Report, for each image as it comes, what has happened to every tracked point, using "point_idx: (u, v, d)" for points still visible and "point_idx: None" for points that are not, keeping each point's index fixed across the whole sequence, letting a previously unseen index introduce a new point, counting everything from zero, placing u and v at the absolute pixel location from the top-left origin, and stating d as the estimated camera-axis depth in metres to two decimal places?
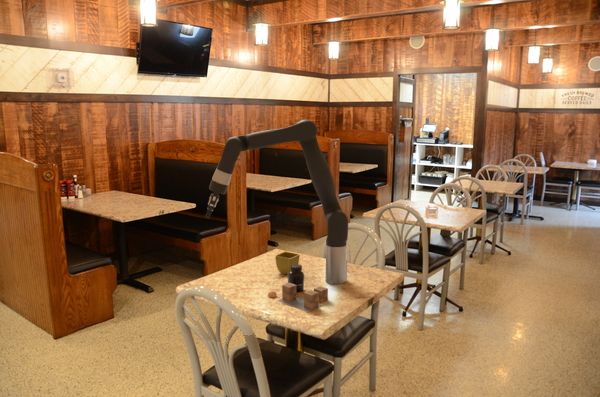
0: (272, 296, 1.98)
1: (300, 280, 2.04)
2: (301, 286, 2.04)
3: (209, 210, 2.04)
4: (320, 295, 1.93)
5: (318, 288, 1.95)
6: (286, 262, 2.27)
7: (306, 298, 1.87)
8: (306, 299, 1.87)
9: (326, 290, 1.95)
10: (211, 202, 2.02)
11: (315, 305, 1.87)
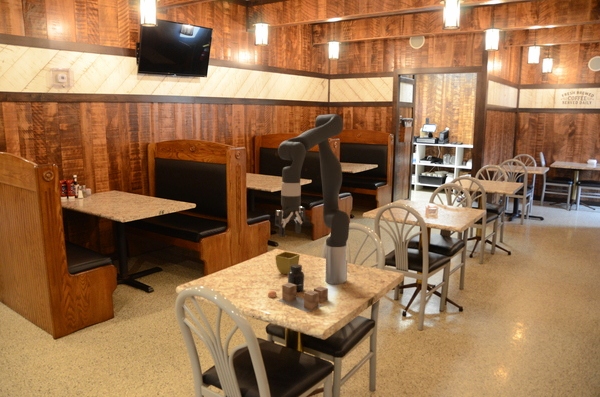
0: (272, 296, 1.98)
1: (300, 280, 2.04)
2: (301, 286, 2.04)
3: (280, 227, 1.85)
4: (320, 295, 1.93)
5: (318, 288, 1.95)
6: (286, 262, 2.27)
7: (306, 298, 1.87)
8: (306, 299, 1.87)
9: (326, 290, 1.95)
10: (276, 218, 1.84)
11: (315, 305, 1.87)
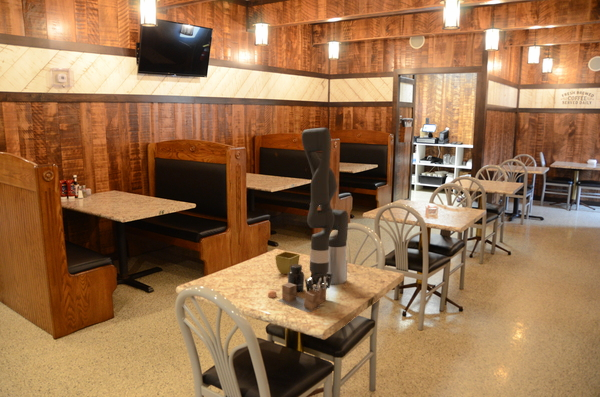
0: (272, 296, 1.98)
1: (300, 280, 2.04)
2: (301, 286, 2.04)
3: None
4: None
5: None
6: (286, 262, 2.27)
7: (307, 297, 1.86)
8: (307, 299, 1.86)
9: (324, 291, 1.94)
10: (307, 286, 1.90)
11: (315, 305, 1.87)
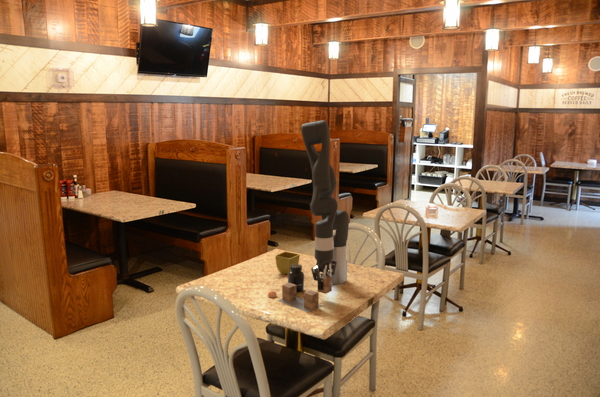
0: (272, 296, 1.98)
1: (300, 280, 2.04)
2: (301, 286, 2.04)
3: (318, 281, 1.92)
4: (324, 283, 1.92)
5: None
6: (286, 262, 2.27)
7: (306, 298, 1.87)
8: (306, 299, 1.87)
9: (330, 278, 1.94)
10: (313, 274, 1.90)
11: (315, 305, 1.87)
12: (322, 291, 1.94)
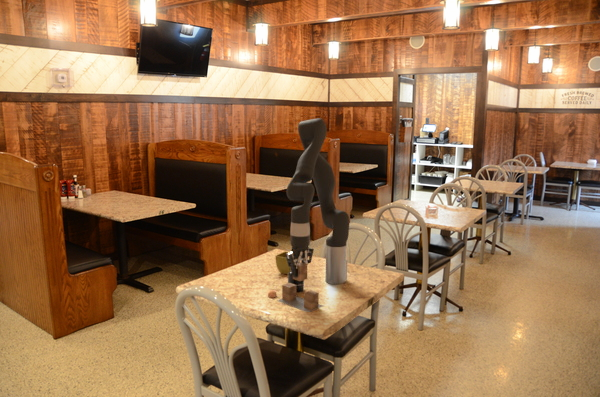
0: (272, 296, 1.98)
1: None
2: (301, 286, 2.04)
3: (293, 268, 1.88)
4: (299, 271, 1.88)
5: None
6: (286, 262, 2.27)
7: (306, 298, 1.87)
8: (306, 299, 1.87)
9: (305, 266, 1.89)
10: (288, 261, 1.86)
11: (315, 305, 1.87)
12: (297, 278, 1.89)
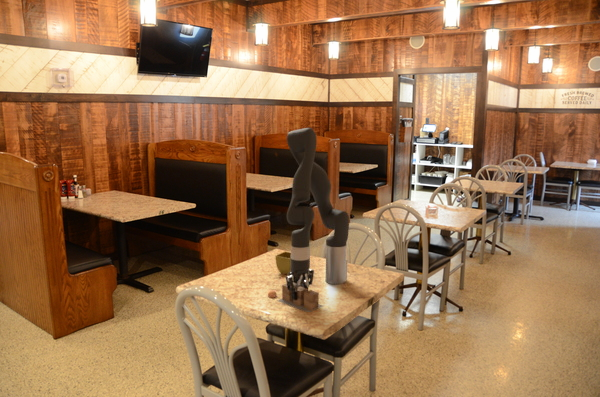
0: (272, 296, 1.98)
1: None
2: (301, 286, 2.04)
3: (292, 291, 1.89)
4: (299, 295, 1.89)
5: None
6: (286, 262, 2.27)
7: (306, 298, 1.87)
8: (306, 299, 1.87)
9: (305, 290, 1.91)
10: (287, 283, 1.87)
11: (315, 305, 1.87)
12: (297, 303, 1.90)
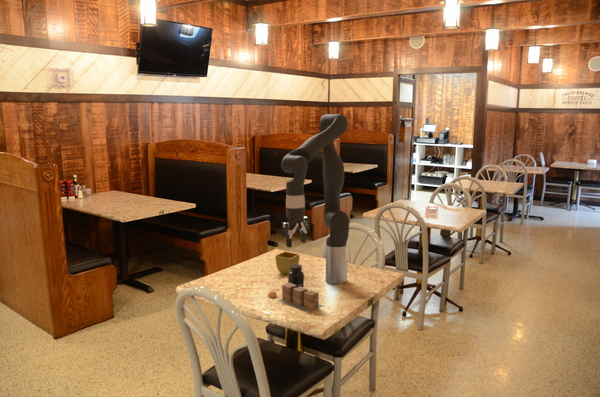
0: (272, 296, 1.98)
1: (300, 280, 2.04)
2: (301, 286, 2.04)
3: (286, 238, 1.91)
4: (299, 295, 1.89)
5: (297, 288, 1.91)
6: (286, 262, 2.27)
7: (306, 298, 1.87)
8: (306, 299, 1.87)
9: (305, 290, 1.91)
10: (283, 230, 1.90)
11: (315, 305, 1.87)
12: (297, 303, 1.90)
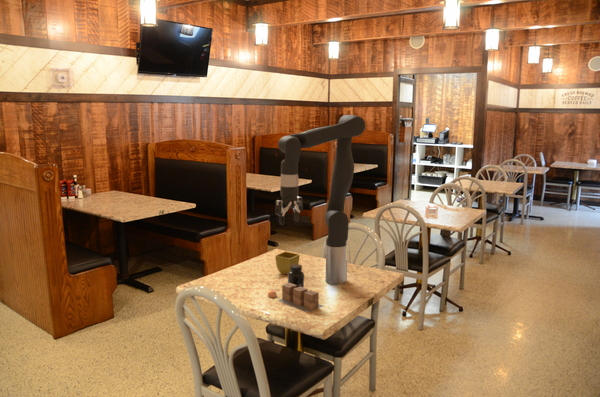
0: (272, 296, 1.98)
1: (300, 280, 2.04)
2: (301, 286, 2.04)
3: (279, 216, 1.99)
4: (299, 295, 1.89)
5: (297, 288, 1.91)
6: (286, 262, 2.27)
7: (306, 298, 1.87)
8: (306, 299, 1.87)
9: (305, 290, 1.91)
10: (276, 207, 1.98)
11: (315, 305, 1.87)
12: (297, 303, 1.90)
